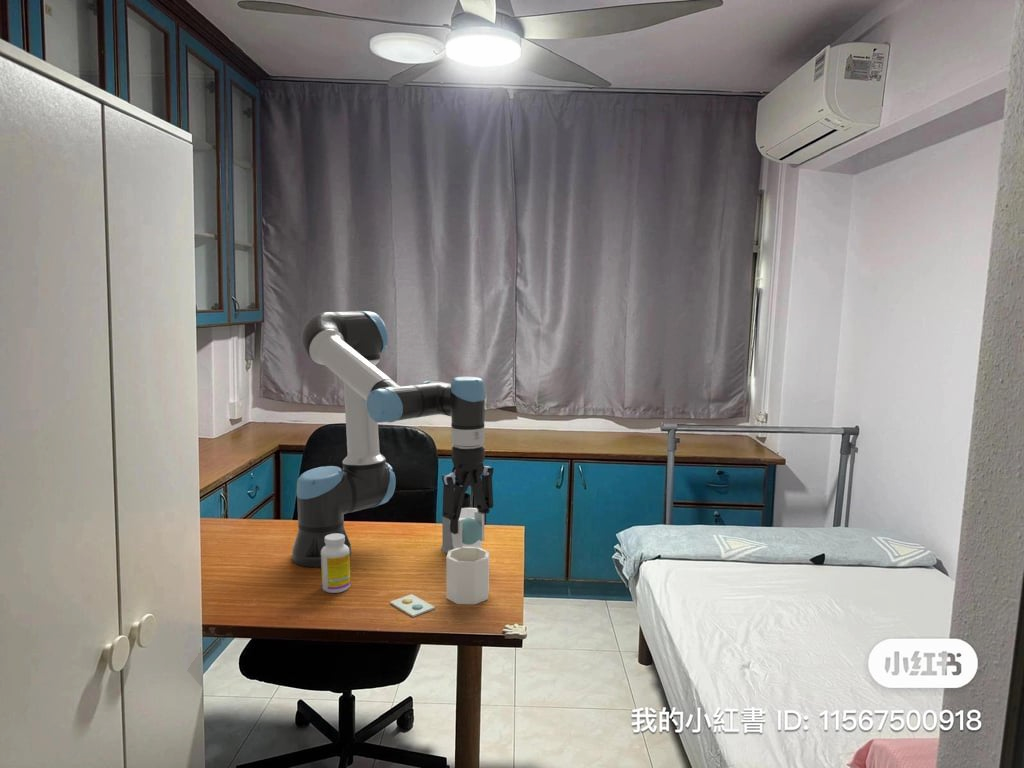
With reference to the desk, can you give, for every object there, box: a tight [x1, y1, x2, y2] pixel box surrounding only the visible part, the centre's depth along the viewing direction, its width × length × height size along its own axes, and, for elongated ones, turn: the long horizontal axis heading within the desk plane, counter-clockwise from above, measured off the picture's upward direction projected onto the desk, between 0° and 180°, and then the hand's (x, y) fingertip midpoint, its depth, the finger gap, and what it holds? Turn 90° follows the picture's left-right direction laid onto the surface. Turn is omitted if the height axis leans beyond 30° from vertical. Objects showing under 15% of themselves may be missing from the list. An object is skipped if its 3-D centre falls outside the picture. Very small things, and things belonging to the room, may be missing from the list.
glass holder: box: [440, 492, 471, 554], centre depth 197 cm, size 9×14×15 cm, turn 7°
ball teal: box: [462, 518, 482, 545], centre depth 164 cm, size 6×6×6 cm
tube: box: [445, 547, 490, 605], centre depth 166 cm, size 10×10×10 cm
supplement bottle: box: [320, 533, 351, 594], centre depth 169 cm, size 7×7×13 cm
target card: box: [389, 593, 436, 618], centre depth 161 cm, size 9×6×1 cm, turn 43°
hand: (468, 542), depth 165 cm, fingers closed on ball teal, 6 cm apart
